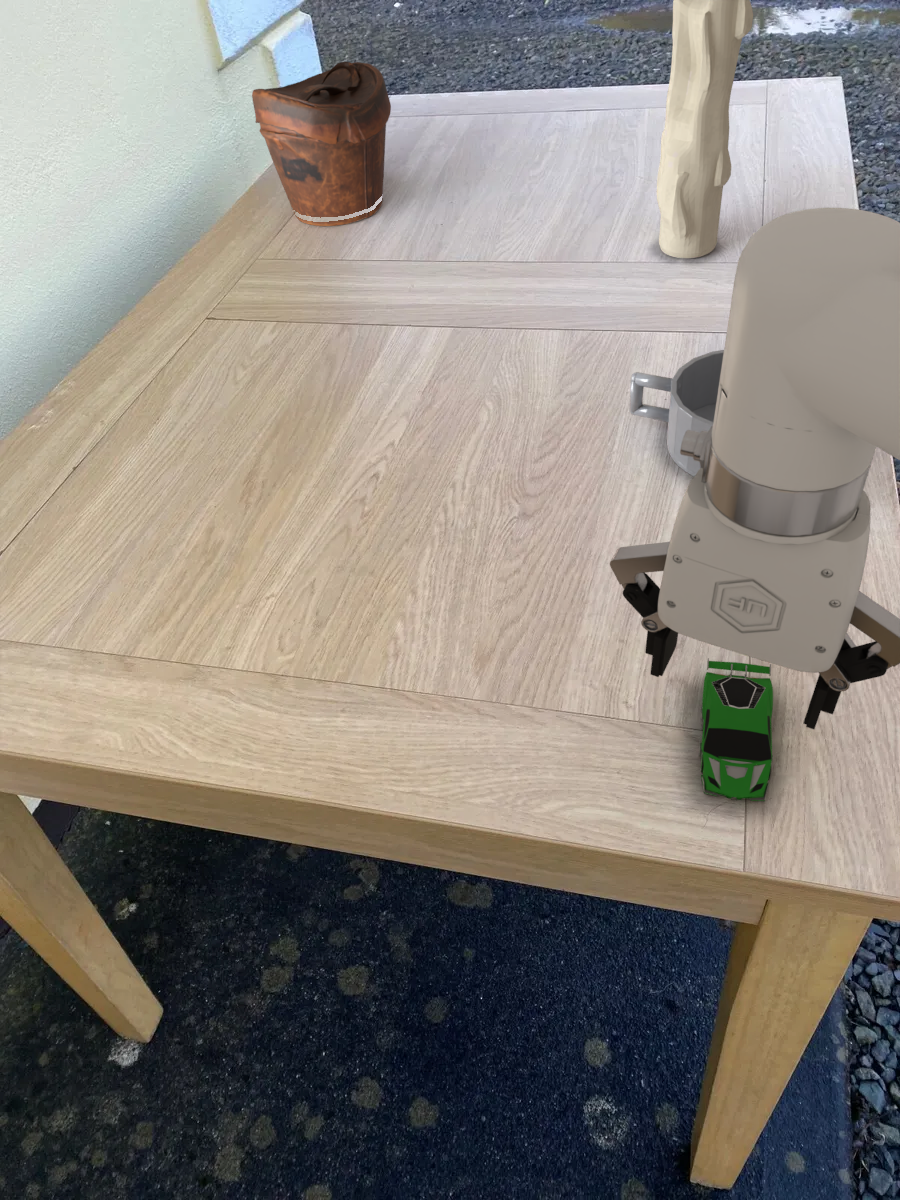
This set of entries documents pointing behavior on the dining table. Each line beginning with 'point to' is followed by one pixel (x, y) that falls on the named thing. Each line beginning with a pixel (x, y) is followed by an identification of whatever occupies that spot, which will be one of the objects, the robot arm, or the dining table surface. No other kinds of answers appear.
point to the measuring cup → (682, 402)
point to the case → (328, 140)
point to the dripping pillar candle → (698, 122)
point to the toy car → (736, 732)
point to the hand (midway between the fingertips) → (736, 685)
